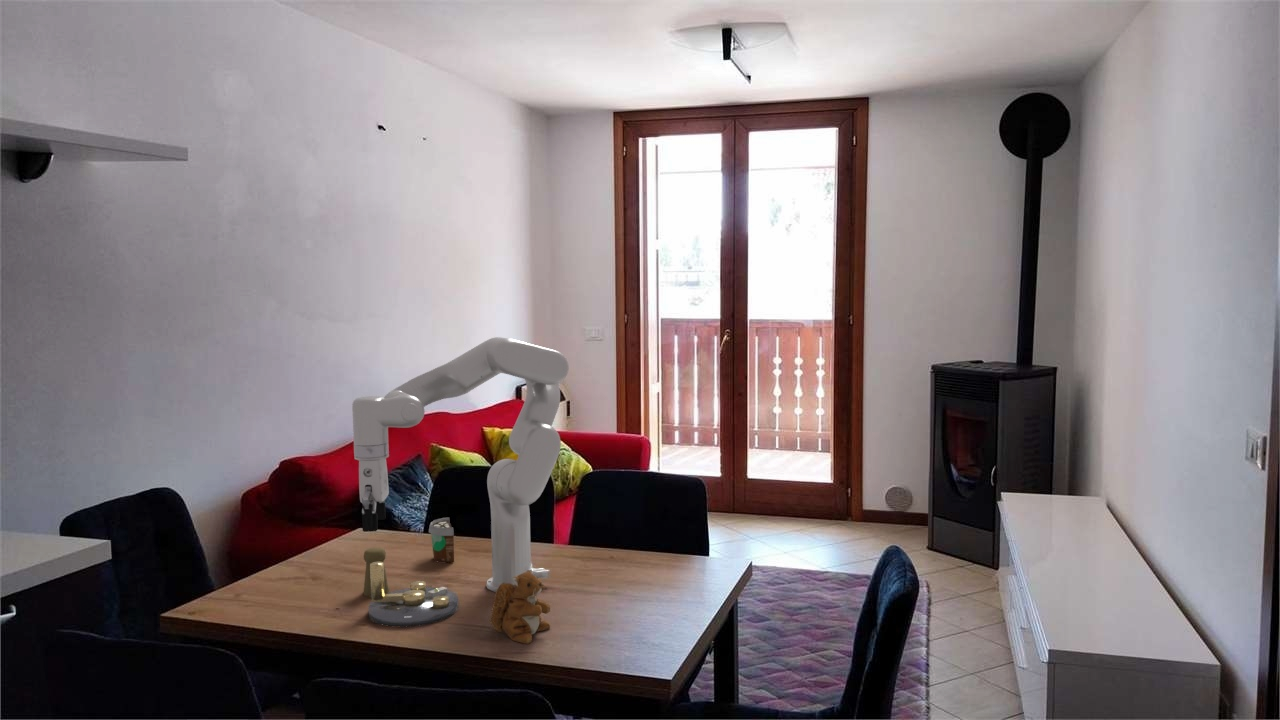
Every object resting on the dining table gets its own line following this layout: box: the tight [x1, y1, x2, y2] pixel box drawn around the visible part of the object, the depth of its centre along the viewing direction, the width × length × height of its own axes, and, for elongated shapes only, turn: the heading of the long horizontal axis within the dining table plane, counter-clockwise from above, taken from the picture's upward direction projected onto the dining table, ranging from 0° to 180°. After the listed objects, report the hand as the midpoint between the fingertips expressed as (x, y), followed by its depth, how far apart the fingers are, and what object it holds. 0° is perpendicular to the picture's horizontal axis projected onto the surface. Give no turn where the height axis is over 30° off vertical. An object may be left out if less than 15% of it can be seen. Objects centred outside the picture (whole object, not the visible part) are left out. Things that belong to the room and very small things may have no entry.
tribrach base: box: [368, 580, 459, 628], centre depth 204 cm, size 20×20×4 cm
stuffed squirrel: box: [488, 571, 551, 645], centre depth 190 cm, size 10×14×13 cm
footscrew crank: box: [370, 562, 425, 605], centre depth 203 cm, size 12×5×9 cm, turn 97°
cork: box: [363, 546, 390, 598], centre depth 216 cm, size 6×6×11 cm
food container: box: [428, 517, 455, 564], centre depth 242 cm, size 12×6×10 cm, turn 17°
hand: (374, 525), depth 202 cm, fingers open, 9 cm apart
